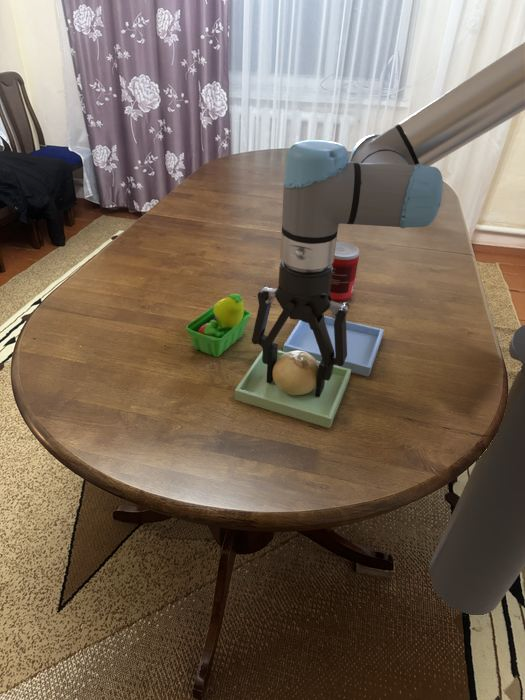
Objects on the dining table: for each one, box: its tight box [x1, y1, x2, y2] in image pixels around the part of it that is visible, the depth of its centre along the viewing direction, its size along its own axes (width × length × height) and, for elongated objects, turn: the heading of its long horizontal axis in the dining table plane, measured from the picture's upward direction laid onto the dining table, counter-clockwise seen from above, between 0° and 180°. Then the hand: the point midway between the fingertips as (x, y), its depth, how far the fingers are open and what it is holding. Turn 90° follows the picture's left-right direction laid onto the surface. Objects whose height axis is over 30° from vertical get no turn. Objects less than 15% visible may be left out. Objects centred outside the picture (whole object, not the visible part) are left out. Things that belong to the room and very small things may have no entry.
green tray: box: [234, 349, 352, 429], centre depth 79 cm, size 16×13×2 cm
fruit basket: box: [185, 293, 252, 358], centre depth 86 cm, size 11×9×11 cm
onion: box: [272, 350, 319, 395], centre depth 77 cm, size 8×8×7 cm
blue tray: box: [282, 315, 385, 378], centre depth 89 cm, size 16×13×2 cm
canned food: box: [330, 241, 360, 303], centre depth 103 cm, size 8×8×11 cm
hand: (295, 384), depth 79 cm, fingers closed on onion, 8 cm apart
